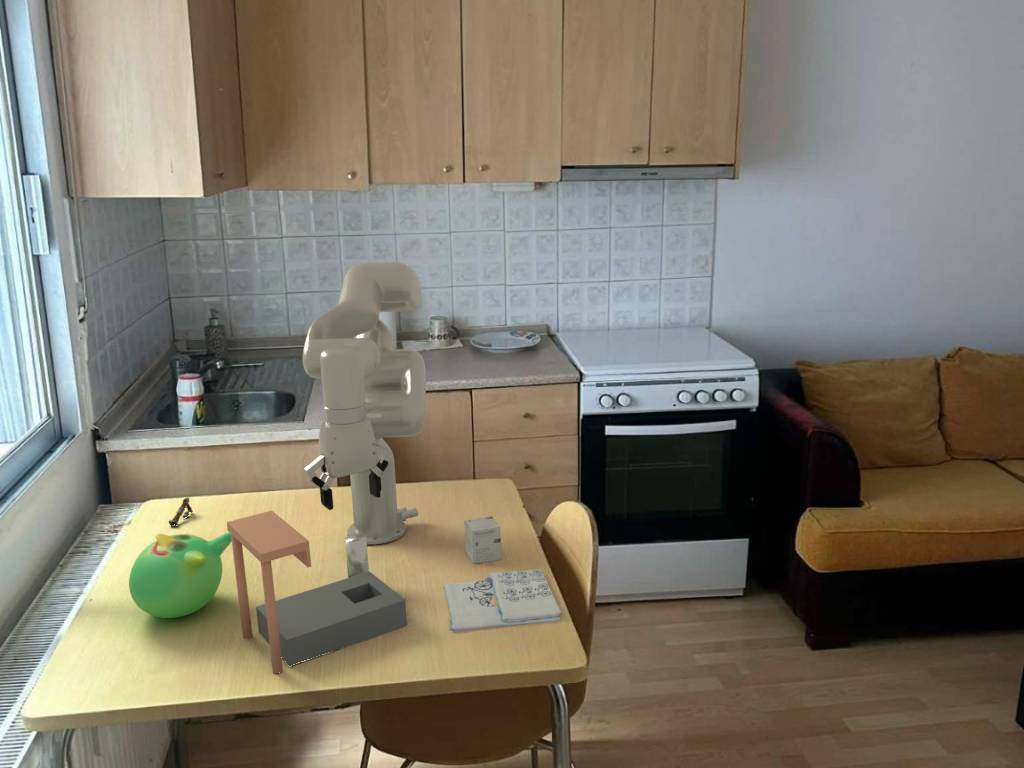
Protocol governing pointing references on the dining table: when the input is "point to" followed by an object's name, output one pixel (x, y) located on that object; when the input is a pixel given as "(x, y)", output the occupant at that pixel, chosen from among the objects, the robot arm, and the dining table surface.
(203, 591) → the toy bird
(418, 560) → the dining table surface
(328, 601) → the socket plate
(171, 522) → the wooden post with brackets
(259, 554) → the canopy
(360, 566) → the metal peg
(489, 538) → the skincare box
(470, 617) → the folded cloth
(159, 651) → the dining table surface
